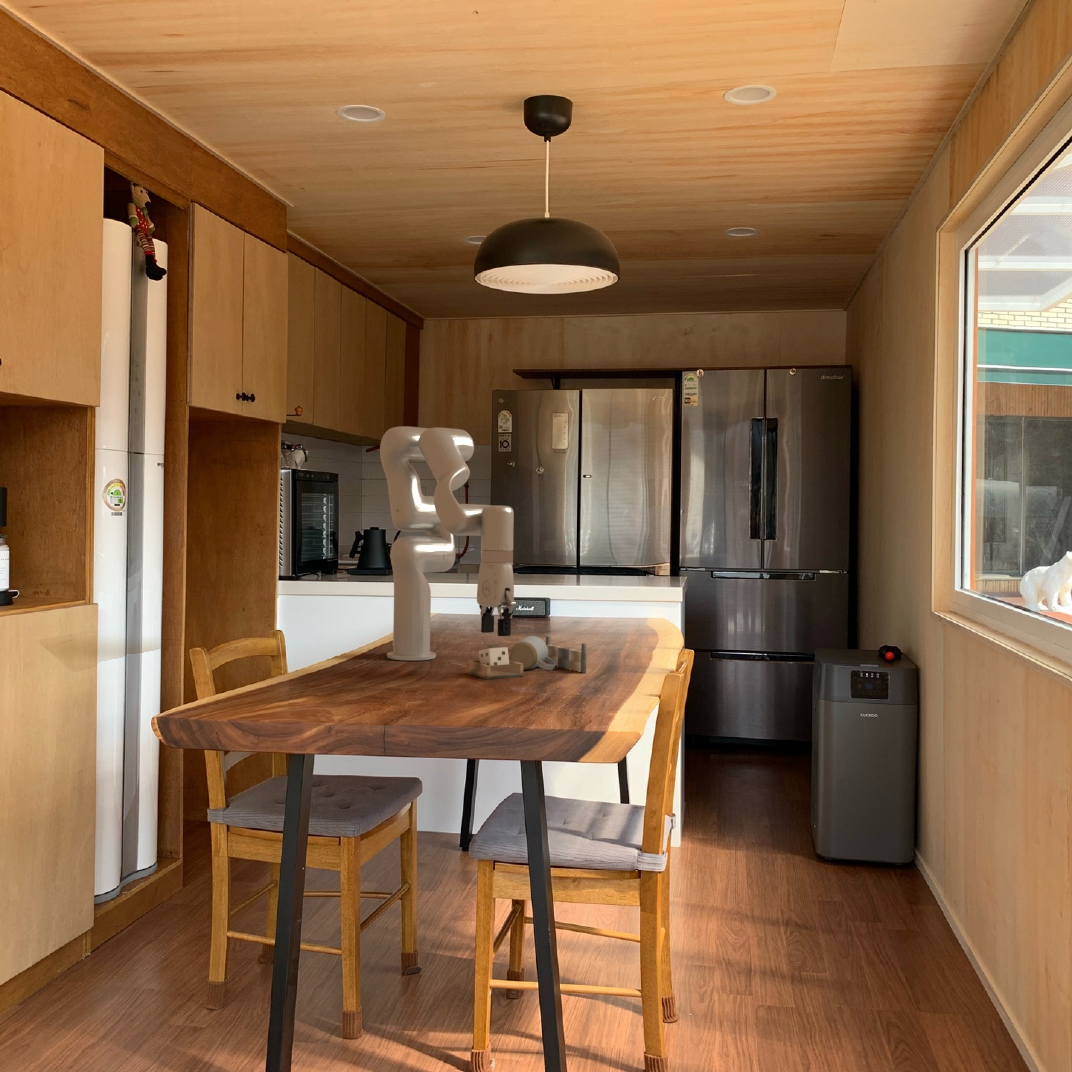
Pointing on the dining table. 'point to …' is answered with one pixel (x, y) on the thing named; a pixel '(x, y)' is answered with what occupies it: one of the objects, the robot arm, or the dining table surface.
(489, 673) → the felt tray
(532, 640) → the ceramic mug
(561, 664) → the scoring rail
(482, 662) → the die
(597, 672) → the dining table surface
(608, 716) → the dining table surface
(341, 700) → the dining table surface
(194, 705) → the dining table surface
